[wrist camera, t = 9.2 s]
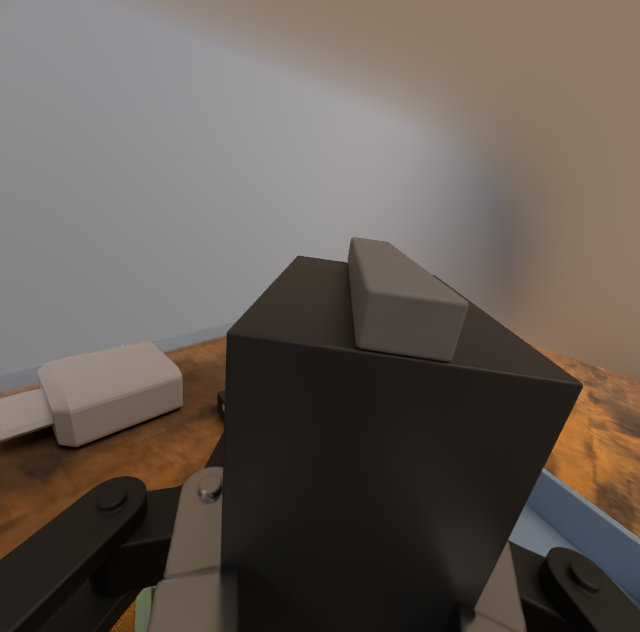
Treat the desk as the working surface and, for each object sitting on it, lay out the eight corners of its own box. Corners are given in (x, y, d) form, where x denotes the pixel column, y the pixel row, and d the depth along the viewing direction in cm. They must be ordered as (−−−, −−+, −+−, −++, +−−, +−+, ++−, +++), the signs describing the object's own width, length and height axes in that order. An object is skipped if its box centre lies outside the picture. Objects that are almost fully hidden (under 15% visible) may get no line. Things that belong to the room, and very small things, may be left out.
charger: (-40, 425, 26) (149, 372, 37) (-38, 498, 21) (184, 411, 31) (-56, 377, 25) (146, 336, 35) (-59, 442, 19) (182, 370, 30)
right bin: (564, 774, 13) (609, 726, 12) (391, 523, 23) (404, 479, 21) (668, 634, 18) (708, 588, 17) (492, 478, 28) (508, 441, 27)
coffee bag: (355, 579, 15) (441, 249, 9) (364, 835, 9) (616, 323, 3) (265, 564, 15) (300, 229, 10) (212, 807, 9) (227, 266, 4)
